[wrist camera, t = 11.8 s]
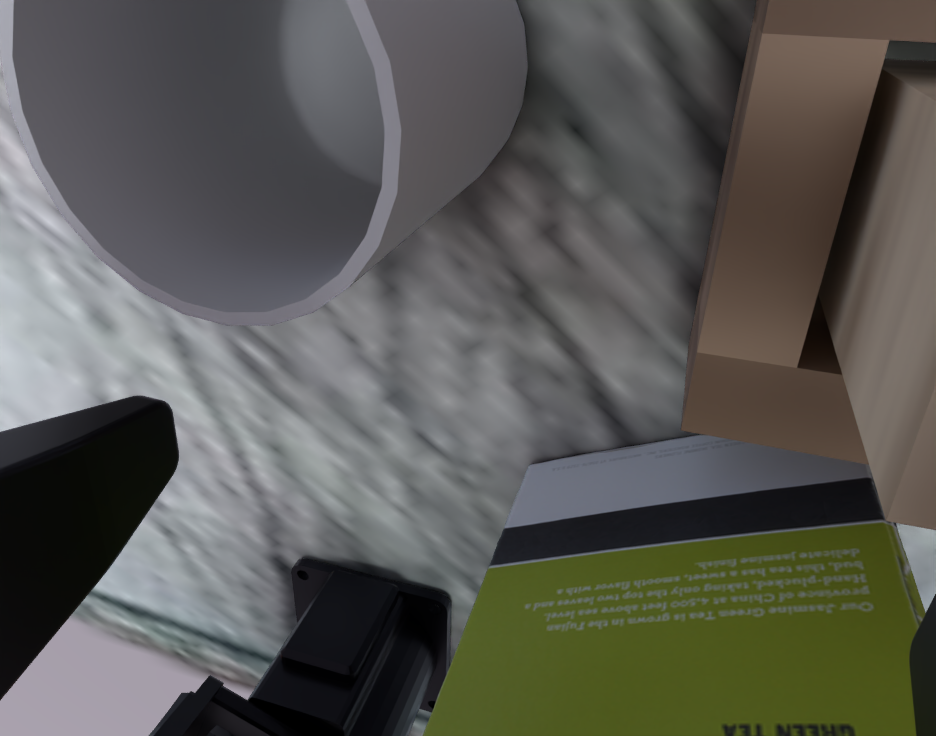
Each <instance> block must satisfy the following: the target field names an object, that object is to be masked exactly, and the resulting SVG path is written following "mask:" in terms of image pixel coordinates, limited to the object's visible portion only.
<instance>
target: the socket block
mask: <svg viewBox="0 0 936 736" xmlns="http://www.w3.org/2000/svg"><path fill="white" fill-rule="evenodd" d="M890 40H895V41H913V42H932V43H936V0H757V2H756V7H755V12H754V17H753V22H752V27H751V32H750V37H749V42H748V47H747V52H746V57H745V62H744V67H743V72H742V78H741V83H740V88H739V93H738V98H737V103H736V108H735V113H734V118H733V123H732V128H731V133H730V138H729V143H728V148H727V153H726V158H725V164H724V169H723V174H722V179H721V184H720V189H719V194H718V199H717V204H716V209H715V214H714V219H713V224H712V229H711V234H710V239H709V244H708V250H707V255H706V260H705V265H704V270H703V275H702V280H701V285H700V290H699V295H698V300H697V305H696V310H695V315H694V320H693V325H692V330H691V335H690V341H689V346H688V357H687V369H686V380H685V391H684V402H683V413H682V424H681V431H687V432H692V433H697V434H703V435H708V436H714V437H719V438H725V439H730V440H736V441H741V442H747V443H752V444H758V445H763V446H769V447H774V448H780V449H785V450H791V451H796V452H802V453H807V454H813V455H818V456H824V457H829V458H835V459H840V460H846V461H851V462H856V463H862V464H867V465H869V462H868V459H867V456H866V452H865V449H864V445H863V442H862V439H861V435H860V432H859V429H858V425H857V422H856V419H855V415H854V412H853V409H852V405H851V402H850V398H849V395H848V392H847V388H846V385H845V382H844V378H843V375H842V372H841V368H840V365H839V362H838V358H837V355H836V352H835V348H834V345H833V341H832V338H831V335H830V331H829V328H828V325H827V321H826V318H825V315H824V311H823V308H822V305H821V301H820V298H819V295H818V292H819V288H820V285H821V281H822V278H823V274H824V270H825V267H826V263H827V260H828V256H829V253H830V249H831V246H832V242H833V239H834V235H835V232H836V228H837V225H838V221H839V217H840V214H841V210H842V207H843V203H844V200H845V196H846V193H847V189H848V186H849V182H850V179H851V175H852V172H853V168H854V165H855V161H856V157H857V154H858V150H859V147H860V143H861V140H862V136H863V133H864V129H865V126H866V122H867V119H868V115H869V112H870V108H871V104H872V101H873V97H874V94H875V90H876V87H877V83H878V80H879V76H880V73H881V69H882V66H883V62H884V59H885V55H886V51H887V48H888V44H889V41H890Z"/></svg>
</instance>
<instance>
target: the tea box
mask: <svg viewBox="0 0 936 736" xmlns="http://www.w3.org/2000/svg"><path fill="white" fill-rule="evenodd" d="M925 614H926V613H925V610H924V607H923V604H922V601H921V598H920V595H919V592H918V589H917V586H916V583H915V580H914V577H913V574H912V571H911V568H910V565H909V562H908V559H907V556H906V554H905V551H904V548H903V545H902V542H901V539H900V537H899V533H898V530H897V526H896V523H894V522H889V521H886V519H885V516H884V513H883V509H882V506H881V502H880V499H879V496H878V492H877V489H876V486H875V482H874V479H873V476H872V472H871V469H870V466H869V465H867V464H862V463H856V462H851V461H846V460H840V459H835V458H829V457H824V456H818V455H813V454H807V453H802V452H796V451H791V450H785V449H780V448H774V447H769V446H763V445H758V444H752V443H747V442H741V441H736V440H730V439H725V438H719V437H714V436H708V435H703V434H702V435H696V436H690V437H684V438H678V439H672V440H666V441H660V442H654V443H648V444H643V445H637V446H630V447H624V448H618V449H613V450H607V451H600V452H594V453H589V454H583V455H578V456H573V457H567V458H562V459H557V460H552V461H547V462H543V463H538V464H531V465H529V467H528V469H527V471H526V474H525V476H524V479H523V482H522V484H521V487H520V489H519V491H518V493H517V496H516V498H515V501H514V503H513V506H512V508H511V511H510V513H509V516H508V518H507V521H506V524H505V527H504V530H503V532H502V535H501V537H500V539H499V541H498V543H497V547H496V549H495V552H494V555H493V558H492V560H491V563H490V565H489V568H488V570H487V572H486V575H485V578H484V580H483V583H482V585H481V588H480V590H479V593H478V596H477V598H476V601H475V603H474V606H473V608H472V611H471V613H470V616H469V618H468V621H467V623H466V626H465V629H464V631H463V634H462V636H461V639H460V642H459V644H458V647H457V649H456V652H455V654H454V657H453V660H452V662H451V665H450V667H449V670H448V672H447V675H446V677H445V680H444V682H443V685H442V687H441V689H440V692H439V694H438V697H437V700H436V703H435V706H434V709H433V711H432V714H431V716H430V719H429V721H428V724H427V726H426V729H425V731H424V734H423V736H916V728H915V718H914V708H913V697H912V687H911V676H910V666H909V653H910V647H911V643H912V640H913V638H914V636H915V634H916V632H917V630H918V628H919V626H920V624H921V622H922V620H923V618H924V616H925Z"/></svg>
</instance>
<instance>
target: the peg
mask: <svg viewBox="0 0 936 736" xmlns="http://www.w3.org/2000/svg"><path fill="white" fill-rule="evenodd" d="M818 295H819V298H820V301H821V305H822V308H823V311H824V315H825V318H826V321H827V325H828V328H829V331H830V335H831V338H832V341H833V345H834V348H835V352H836V355H837V358H838V362H839V365H840V368H841V372H842V375H843V378H844V382H845V385H846V388H847V392H848V395H849V398H850V402H851V405H852V409H853V412H854V415H855V419H856V422H857V425H858V429H859V432H860V435H861V439H862V442H863V445H864V449H865V452H866V456H867V459H868V462H869V466H870V469H871V472H872V476H873V479H874V482H875V486H876V489H877V492H878V496H879V499H880V502H881V506H882V509H883V513H884V516H885V519H886V521H889V522H894V523H900V524H905V525H911V526H916V527H922V528H927V529H933V530H936V61H922V60H896V59H884V62H883V66H882V69H881V73H880V76H879V80H878V83H877V87H876V90H875V94H874V97H873V101H872V104H871V108H870V112H869V115H868V119H867V122H866V126H865V129H864V133H863V136H862V140H861V143H860V147H859V150H858V154H857V157H856V161H855V165H854V168H853V172H852V175H851V179H850V182H849V186H848V189H847V193H846V196H845V200H844V203H843V207H842V210H841V214H840V217H839V221H838V225H837V228H836V232H835V235H834V239H833V242H832V246H831V249H830V253H829V256H828V260H827V263H826V267H825V270H824V274H823V278H822V281H821V285H820V288H819V292H818Z"/></svg>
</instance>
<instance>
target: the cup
mask: <svg viewBox="0 0 936 736" xmlns="http://www.w3.org/2000/svg"><path fill="white" fill-rule="evenodd" d="M0 60H1V65H2V70H3V75H4V81H5V86H6V91H7V96H8V101H9V106H10V111H11V114H12V116H13V119H14V121H15V124H16V127H17V129H18V132H19V134H20V137H21V139H22V142H23V145H24V147H25V150H26V152H27V155H28V157H29V160H30V163H31V165H32V167H33V169H34V171H35V172H36V174H37V176H38V177H39V179H40V180H41V182H42V184H43V185H44V187H45V189H46V190H47V192H48V194H49V195H50V197H51V199H52V200H53V202H54V204H55V205H56V207H57V209H58V210H59V212H60V214H61V215H62V217H63V218H64V219H65V220H66V221H67V222H68V224H69V225H70V226H71V227H72V228H73V229H74V230H75V232H76V233H77V234H78V235H79V236H80V237H81V239H82V240H83V241H84V242H85V243H86V244H87V246H88V247H89V248H90V249H91V250H92V251H93V253H94V254H95V255H96V256H97V257H98V258H99V259H100V260H101V261H103V262H104V263H105V264H106V265H108V266H109V267H110V268H111V269H113V270H114V271H115V272H116V273H117V274H119V275H120V276H121V277H122V278H124V279H125V280H126V281H127V282H129V283H130V284H131V285H132V286H134V287H135V288H136V289H137V290H139V291H140V292H142V293H144V294H146V295H148V296H150V297H152V298H154V299H155V300H157V301H159V302H161V303H163V304H165V305H167V306H169V307H171V308H173V309H174V310H176V311H178V312H180V313H182V314H185V315H189V316H193V317H197V318H201V319H204V320H208V321H212V322H216V323H220V324H224V325H227V326H241V325H275V324H278V323H281V322H284V321H288V320H291V319H294V318H297V317H300V316H303V315H307V314H310V313H313V312H315V311H316V310H317V309H319V308H320V307H322V306H323V305H324V304H326V303H327V302H329V301H330V300H331V299H333V298H334V297H336V296H337V295H338V294H340V293H341V292H342V291H344V290H345V289H347V288H348V287H349V286H351V285H352V284H353V283H354V282H355V281H357V280H358V279H359V278H360V277H361V276H363V275H364V274H365V273H366V272H367V271H368V270H370V269H371V268H372V267H373V266H374V265H376V264H377V263H378V262H379V261H380V260H381V259H383V258H384V257H385V256H386V255H387V254H389V253H390V252H391V251H392V250H393V249H394V248H396V247H397V246H398V245H399V244H400V243H401V242H403V241H404V240H405V239H406V238H407V237H409V236H410V235H411V234H412V233H413V232H414V231H416V230H417V229H418V228H419V227H420V226H422V225H423V224H424V223H425V222H426V221H427V220H429V219H430V218H431V217H432V216H433V215H435V214H436V213H437V212H438V211H439V210H440V209H442V208H443V207H444V206H445V205H446V204H448V203H449V202H450V201H451V200H452V199H453V198H455V197H456V196H457V195H458V194H459V193H461V192H462V191H463V190H464V189H465V188H466V187H468V186H469V185H470V184H471V183H472V182H474V181H475V180H476V179H477V178H478V177H479V176H481V174H482V173H483V172H484V171H485V169H486V168H487V167H488V166H489V164H490V163H491V162H492V160H493V159H494V158H495V156H496V155H497V154H498V153H499V151H500V150H501V149H502V147H503V146H504V145H505V143H506V142H507V141H508V139H509V136H510V134H511V132H512V129H513V127H514V125H515V122H516V120H517V117H518V115H519V113H520V110H521V108H522V105H523V98H524V91H525V84H526V77H527V70H528V59H527V48H526V37H525V26H524V22H523V19H522V16H521V13H520V10H519V7H518V5H517V2H516V0H0Z"/></svg>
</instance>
